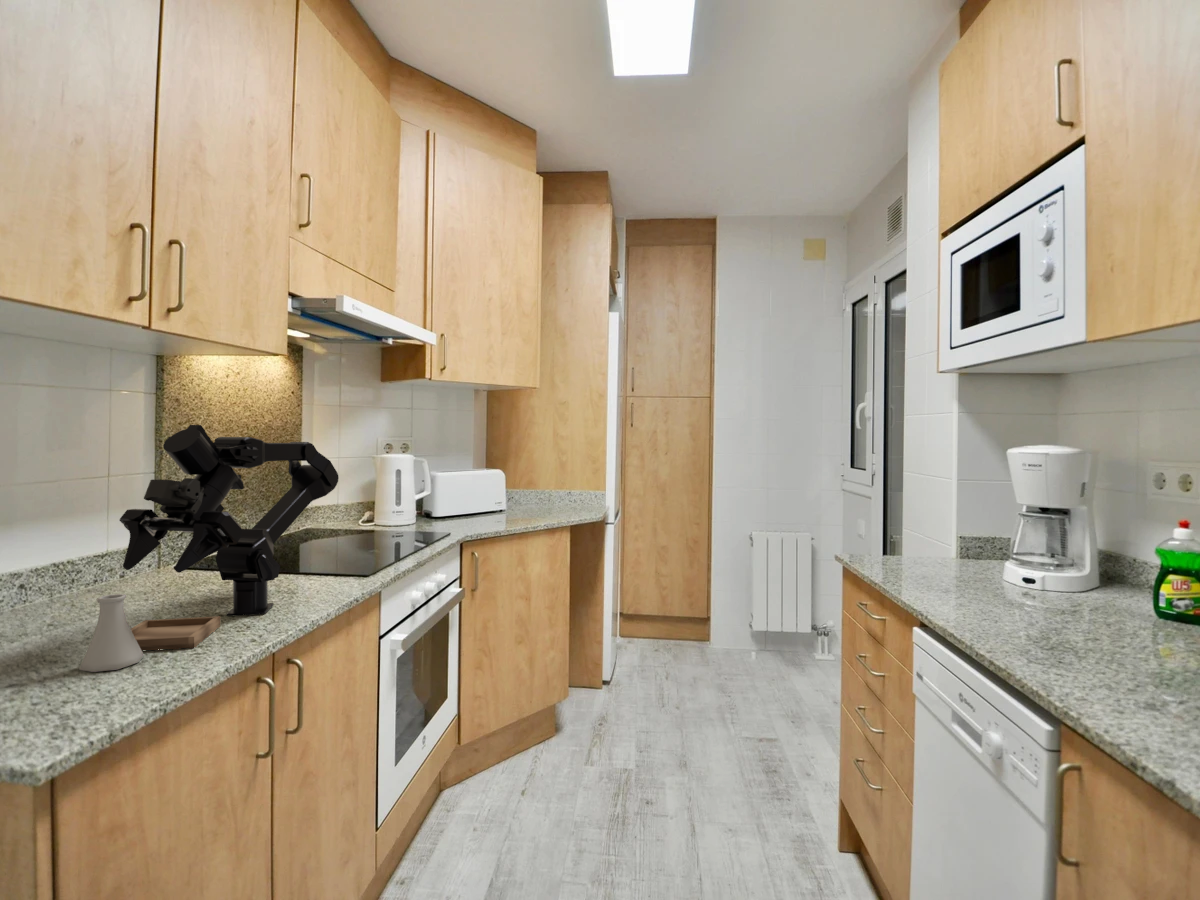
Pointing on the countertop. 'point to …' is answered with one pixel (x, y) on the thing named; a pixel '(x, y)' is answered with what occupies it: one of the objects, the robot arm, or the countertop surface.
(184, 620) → the walnut tray
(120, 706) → the countertop surface
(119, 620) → the flask
